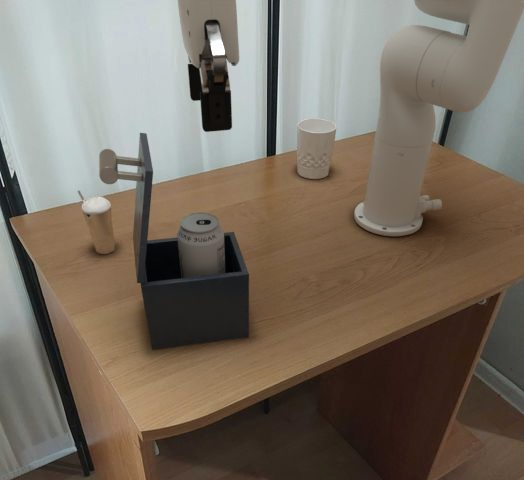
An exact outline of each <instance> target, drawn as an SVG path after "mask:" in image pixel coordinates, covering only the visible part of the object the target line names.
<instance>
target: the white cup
mask: <svg viewBox="0 0 524 480" xmlns="http://www.w3.org/2000/svg"><path fill="white" fill-rule="evenodd" d="M337 128H338V127H337V124H336V123H335V122H334V121H332V120H329V119H325V118H319V117H317V118H316V117H313V118H311V117H310V118H305V119H302V120H300V121H298V123H297V131H296V133H297V134H296V159H297V168H296V171H297V174H298V175H299V176H300V177H302V178H305V179H308V180H309V179H310V180H321V179H324V178H326V177H328V176H329V173H330V169H331V168H330V166H331V163H332V159H333V158H332V157H333V151H334V148H335V147H334V146H335V140H336V132H337Z"/></svg>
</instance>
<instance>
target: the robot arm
mask: <svg viewBox="0 0 524 480" xmlns="http://www.w3.org/2000/svg"><path fill="white" fill-rule="evenodd" d="M413 2H414V4H415V6H416V8H417V9H418V10H419V11H420V12H422V13H424V14H425V15H428V16H431V17H434V18H439V19H442V20H447V21H451V22H455V23H460V24H465V25H468V28H467V33H466V35H463V34H459V33H454V32H451V31H448V30H444V29H440V28H435V27H431V26H428V25H427V26H426V25H419V24H417V25H415V24H414V25H413V24H412V25H407V26H403V27H400V28H398V29H397V30H395V31H394V32H393V33H392V34H391V35H390V36H389V38H388V39H387V40H386V42H385V44H384V46H383V47H382V51H381V54H380V62H379V89H380V90H379V107H378V115H377V123H376V129H375V133H374V140H373V147H372V152H371V158H370V159H371V160H370V166H369V172H368V177H367V184H366V189H365V196H364V201H362V202H360V203H359V204H358V205H357V206H356V207H355V208H354V213H353V218H354V221H355V223H356V224H357V225H358V226H359V227H360V228H362V229H363V230H366V231H368V232H369V233H372V234H375V235H379V236H384V237H404V236H408V235H412V234H414V233H416V232H418V231H419V230H421V229H420V228H421V227H422V225H423V220H424V217H423V214H424V213H426V212H427V211H431V212H432V211H439V210H442V207H443V202H442V200H441V199H440V198H436V199H430V195H428V194H425V195H421V192H422V187H423V184H424V179H425V174H426V171H427V166H428V161H429V157H430V155H431V149H432V146H433V142H434V137H435V133H436V126H437V124H436V123H437V122H436V112H435V106H437V107H438V108H441V109H446V110H449V111H451V112H455V113H469V112H472V111H474V110H475V109H477V108H478V107H479V106H480V105H481V104H482V103H483V102H484V101H485V99H486V97H487V96H488V95H489V93H490V91H491V89H492V87H493V84H494V82H495V81H496V78H497V76H498V73H499V70H500V68H501V65H502V64H503V61H504V59H505V57H506V54H507V51H508V49H509V47H510V44H511V41H512V39H513V37H514V34H515V32H516V30H517V27H518V24H519V22H520V20H521V18H522V15H523V12H524V0H413ZM177 6H178V7H177V8H178V16H179V22H180V23H179V24H180V29H181V37H182V43H183V45H184V46H183V47H184V49H185V52H186V54H187V57H188V63H187V72H188V86H189V96H190V99H191V100H192V101H193V102H196V101H198V102H200V113H201V114H200V115H201V127H202V130H203V131H204V132H206V133H210V132H212V133H213V132H221V131H223V132H224V131H231V130H232V128H233V115H232V112H233V111H232V90H231V83H230V76H229V69H228V64H231V66H232V67H236V66H237V65H238V64H239V62H240V48H239V47H240V46H239V45H240V44H239V30H238V13H237V10H238V9H237V0H177Z"/></svg>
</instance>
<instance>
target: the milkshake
mask: <svg viewBox="0 0 524 480" xmlns="http://www.w3.org/2000/svg"><path fill="white" fill-rule="evenodd" d="M77 194H78V195H79V197H80V199H81V201H82V202H83V203H82V204H81V211H82V214H83V216H84V219H85V222H86V226H87V227H88V232H89V234H90V238H91V241H92V244H93V247H94V250H95V252H96V253H97V254H99V255H108V254H111V253H113V252H114V251H115V250H116V243H115V235H114V228H113V227H114V225H113V216H112V215H113V214H112V204H111V202H110V201H109V200H108V199H107V198H105V197H103V196H100V195H98V196H96V197H95V196H93V197H90V198H88V199H85V197H84V196H83V195H82V192H81V190H77Z"/></svg>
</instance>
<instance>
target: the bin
mask: <svg viewBox="0 0 524 480" xmlns="http://www.w3.org/2000/svg"><path fill="white" fill-rule="evenodd" d="M224 248H225V273H224V274H215V275H206V276H198V277H189V278H181V268H180V259H179V249H178V239H177V236H176V237H168V238H157V239H147V250H146V262H145V274H144V283H140V289H141V295H142V296H141V297H142V301H143V307H144V313H145V319H146V326H147V331H148V336H149V337H148V338H149V343H150V348H151V351H156V350H163V349H171V348H178V347H186V346H194V345H201V344H208V343H215V342H223V341H230V340H238V339H245V338H249V337H250V273H249V270H248V267H247V265H246V262H245V258H244V256H243V253H242V251H241V248H240V245H239V241H238V240H237V236H236V233H235V232H234V231H228V232H224Z"/></svg>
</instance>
